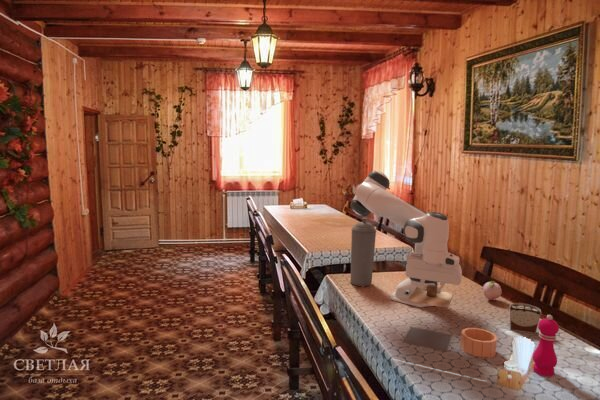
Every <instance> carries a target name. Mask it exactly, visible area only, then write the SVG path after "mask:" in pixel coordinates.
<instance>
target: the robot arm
mask: <svg viewBox="0 0 600 400" xmlns="http://www.w3.org/2000/svg"><path fill="white" fill-rule="evenodd" d="M390 183H391V182H390V179H389V177H388V176H387V175H386V174H385V173H383V172H382V171H379V170H372V171H371V172H370V173H368V174H367V176H366V178H365V179H364V180H363V181H362V182H361V183H360V184H359V185H358V186H357V187H356V189H355V190H356V191H355V195H354V196H353V198H352V199H351V201H350V208H351V210H352V211H353V212H354V213H355V214H356V215H358V216H361V217H368V216H369V215H370V214H371V213H372V214H373V215H375V216H378V217H380V218H386V219H388V220H389V221H391V222H392V224H394V225H396V226H398V227H400V228H401V229H402V230H403V232H402V233H403V236H404V238H405V239H406V241H408V242H409V243H413V244H414V252H410V253H408V254H407V255H406V256H405V257H406V259H405V262H406V268H405V276H406V277H407V278H405V279H404V280H402V281H400V282H399V283H398V284H397V286H396V288H395V290H394V291H392V292H391V294H390V296H389V297H390V300H392V301H395V302H398V303H403V304H405V305H409V306H413V307H417V308H425V307H426V308H427V307H434V305H428V304H423V303H417V302H412V301H409V297H410V296H411V294H412V293H413V291H414V290H415V288H416V287H419V288H423V291H427V285H435V286H437V292H436V293H439V294H441V291H442V288H443V287H445V285H446V284H448V285H456V286H459V285H461V283H462V279H463V275H462V274H463V273H462V272H463V271H462V266H461V264H460V262H461V261H460V260H461V259H460V256H458V255H455V254H453V253H451V252H448V250H449V249H448V241H449V238H450V237H449V236H450V222H449V217H448V216H447V215H446V214H444V213H440V212H437V211H429V212H426V211H424V210H422V209H420V208H418V207H417V206H414V205H412V203H409V202H407V201H405V200H403V199H402V198H400V197H398V196H397V195H394V194H393V193H391V192H389V191H387V189H388V190H391V188H390ZM439 283H440V287H438V285H439Z"/></svg>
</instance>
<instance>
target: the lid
mask: <svg viewBox="0 0 600 400" xmlns="http://www.w3.org/2000/svg"><path fill="white" fill-rule="evenodd" d="M437 288H438V286H435V285H427V291H423V288H419V287H416V288H415V290H414V291H413V293H412V294H411V296H410V297H409V301H412V302H417V303H423V304H428V305H434V306H435V307H441V308H445V309H449V306H450V305H451V302H452V300H453V297H454V292H448V291H442V290H441V294H439V293H436V292H437ZM434 306H433V307H434Z"/></svg>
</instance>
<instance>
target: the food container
mask: <svg viewBox="0 0 600 400" xmlns="http://www.w3.org/2000/svg"><path fill="white" fill-rule="evenodd" d="M507 310H508V312H509V325H510V327H509V328H510V329H509V330H511V331H515V332H521V333H529V334H535V335H536V334H537V331H538V324H539V322H540V317H541V316H543V313H542V310H541V308H539V307H537V306H534V305H532V304H528V303H523V302H515V303H510V305H509V307H508V309H507Z"/></svg>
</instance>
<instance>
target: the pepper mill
mask: <svg viewBox="0 0 600 400" xmlns="http://www.w3.org/2000/svg"><path fill="white" fill-rule="evenodd" d="M537 329H538V330H539V332H538V337H539V343H538V345H537V347H536V348H535V350H534V352H533V353H532V360H533V362H534V363H533V365H532V371H533V372H534V373H535V374H538V375H539V376H543V377H553V376H554V375H555V367H556V366H557V364H558V357H557V354H556V351H555V345H554V344H555V341H556V339H557V335H556V334H558V332H559V331H560V330H559V329H560V326H559V324H558V322H557V321H556V320H554V317H553V315H551V314H546V318H542V319H539V322H538V326H537Z"/></svg>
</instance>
